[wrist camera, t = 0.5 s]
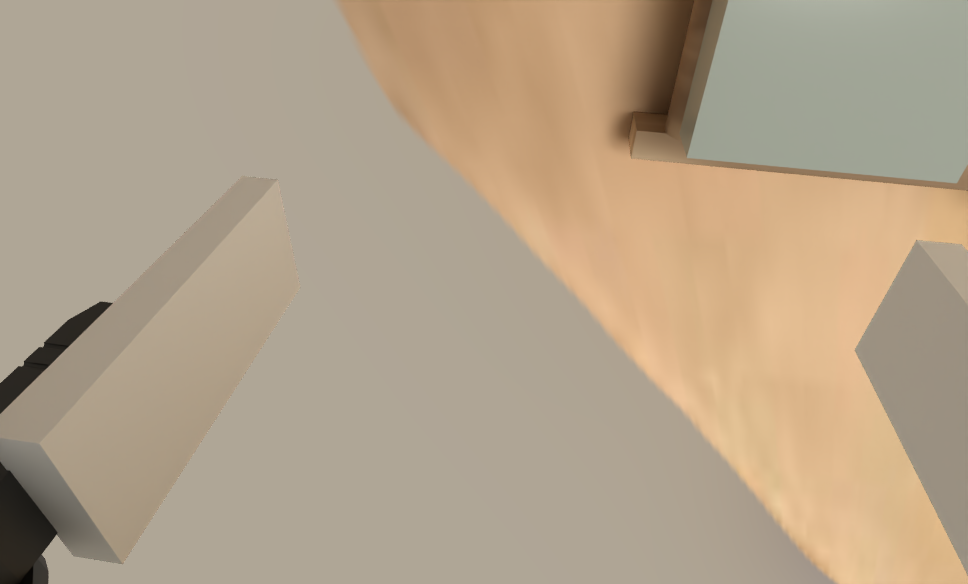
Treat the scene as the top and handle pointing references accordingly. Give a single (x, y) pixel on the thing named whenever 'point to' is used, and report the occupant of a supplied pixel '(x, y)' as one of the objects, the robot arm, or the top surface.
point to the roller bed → (662, 132)
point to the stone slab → (833, 87)
